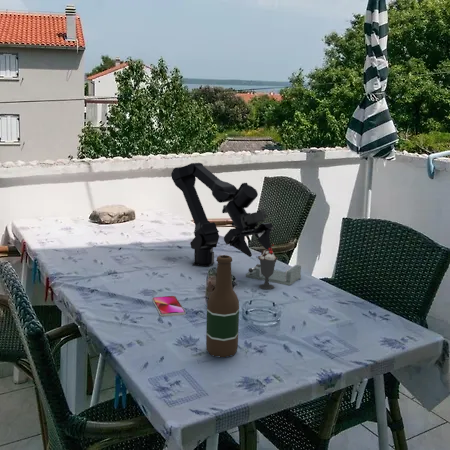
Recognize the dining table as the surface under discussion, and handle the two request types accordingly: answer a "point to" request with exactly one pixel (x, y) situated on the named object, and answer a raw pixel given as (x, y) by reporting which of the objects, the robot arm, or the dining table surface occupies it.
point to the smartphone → (168, 306)
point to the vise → (277, 275)
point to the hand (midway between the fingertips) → (260, 254)
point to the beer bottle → (222, 313)
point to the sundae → (267, 266)
